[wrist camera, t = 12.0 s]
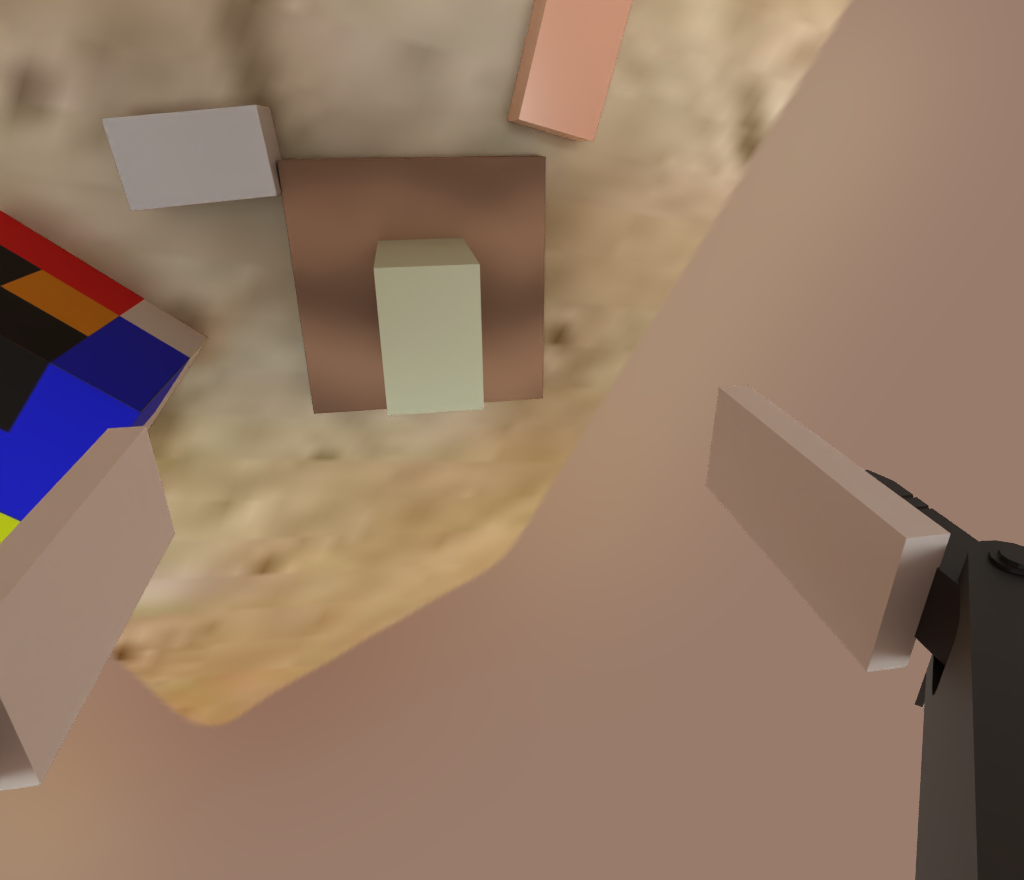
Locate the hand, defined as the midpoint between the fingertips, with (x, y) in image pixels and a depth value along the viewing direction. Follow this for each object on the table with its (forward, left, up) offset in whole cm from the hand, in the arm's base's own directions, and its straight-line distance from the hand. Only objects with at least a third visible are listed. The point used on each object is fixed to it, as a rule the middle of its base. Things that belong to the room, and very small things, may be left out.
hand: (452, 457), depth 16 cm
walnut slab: (0, 0, -21) cm, 21 cm away
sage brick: (+1, 0, -19) cm, 19 cm away
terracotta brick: (-10, +7, -21) cm, 24 cm away
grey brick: (-6, -9, -21) cm, 24 cm away
